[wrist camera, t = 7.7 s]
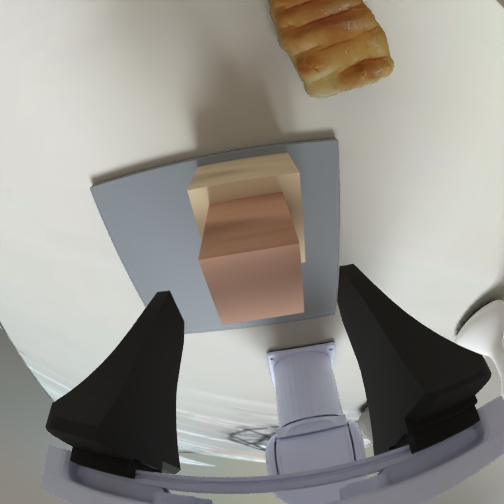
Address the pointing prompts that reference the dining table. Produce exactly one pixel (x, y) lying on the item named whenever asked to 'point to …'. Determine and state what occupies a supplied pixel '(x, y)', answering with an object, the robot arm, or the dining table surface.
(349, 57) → the pastry
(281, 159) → the oak block
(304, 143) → the slate board
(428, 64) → the dining table surface
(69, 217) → the dining table surface
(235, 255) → the terracotta block
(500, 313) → the flower in vase
